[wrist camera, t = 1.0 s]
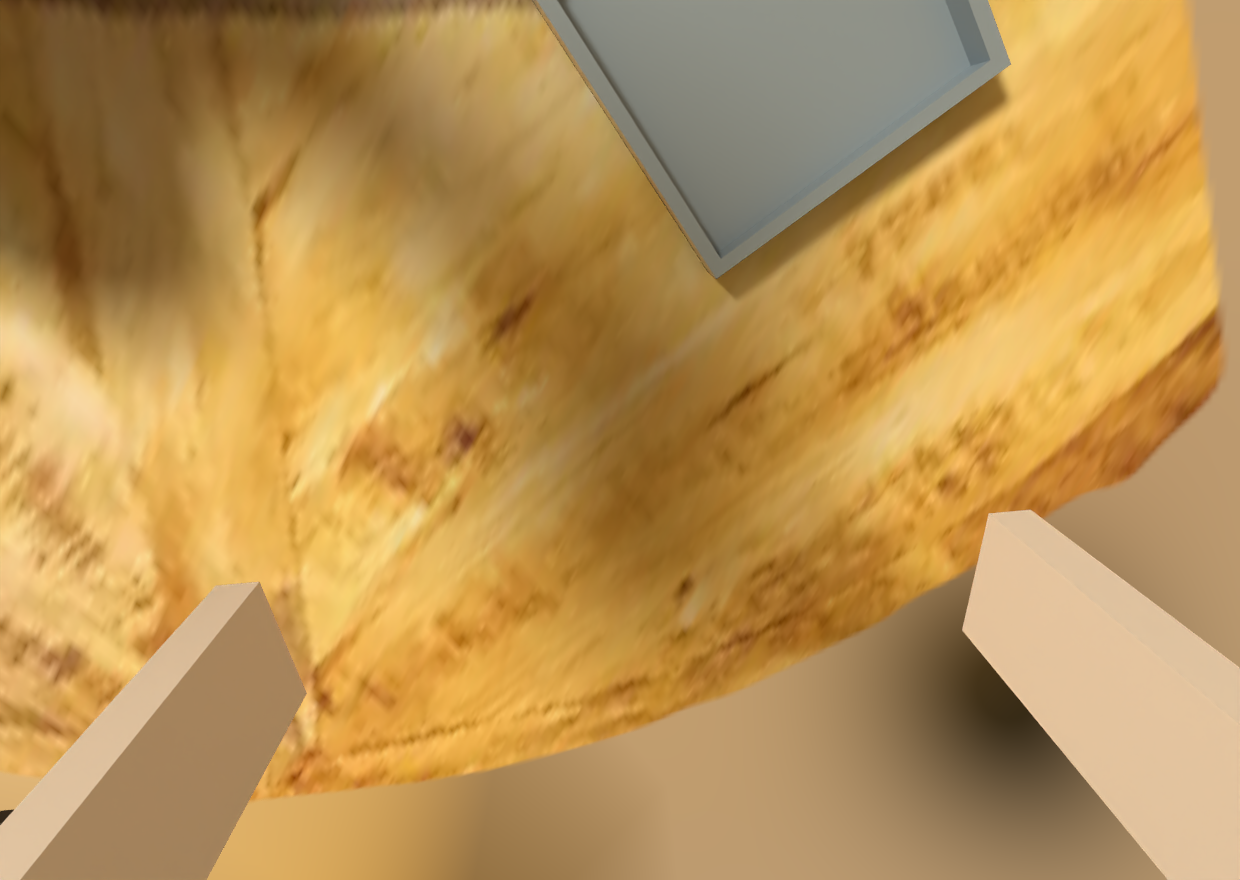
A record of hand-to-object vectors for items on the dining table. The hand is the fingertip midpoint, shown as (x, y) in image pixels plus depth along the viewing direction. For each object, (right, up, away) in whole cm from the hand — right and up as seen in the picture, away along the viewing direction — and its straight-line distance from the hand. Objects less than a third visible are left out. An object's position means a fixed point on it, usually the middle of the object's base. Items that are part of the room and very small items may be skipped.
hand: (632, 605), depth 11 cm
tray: (+7, +25, +20) cm, 33 cm away
